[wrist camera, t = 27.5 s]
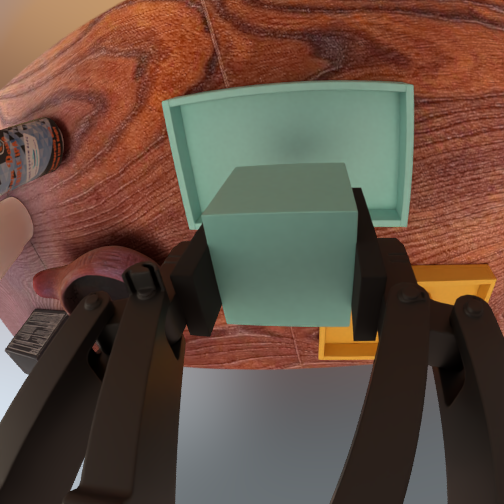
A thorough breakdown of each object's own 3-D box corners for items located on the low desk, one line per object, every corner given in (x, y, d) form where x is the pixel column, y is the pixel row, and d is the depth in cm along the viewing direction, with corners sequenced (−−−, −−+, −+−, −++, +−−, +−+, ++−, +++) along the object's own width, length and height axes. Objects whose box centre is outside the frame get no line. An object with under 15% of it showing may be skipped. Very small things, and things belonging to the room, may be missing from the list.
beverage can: (70, 173, 29) (-10, 230, 19) (27, 156, 29) (-49, 203, 19) (75, 119, 26) (-18, 163, 16) (30, 105, 25) (-56, 143, 15)
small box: (52, 334, 49) (24, 374, 41) (34, 307, 46) (2, 348, 37) (89, 339, 46) (59, 386, 38) (69, 310, 43) (33, 358, 34)
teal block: (344, 162, 13) (358, 211, 9) (344, 256, 16) (349, 327, 12) (235, 166, 14) (200, 215, 10) (249, 256, 17) (226, 324, 13)
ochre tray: (487, 263, 26) (497, 279, 24) (459, 337, 32) (464, 353, 30) (320, 265, 30) (320, 282, 28) (319, 342, 36) (318, 359, 34)
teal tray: (403, 82, 19) (413, 84, 17) (400, 212, 25) (407, 227, 23) (174, 97, 23) (161, 101, 21) (198, 216, 29) (189, 230, 27)
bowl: (163, 217, 30) (123, 265, 24) (206, 314, 37) (184, 368, 30) (62, 240, 35) (23, 278, 28) (106, 316, 41) (79, 357, 35)
